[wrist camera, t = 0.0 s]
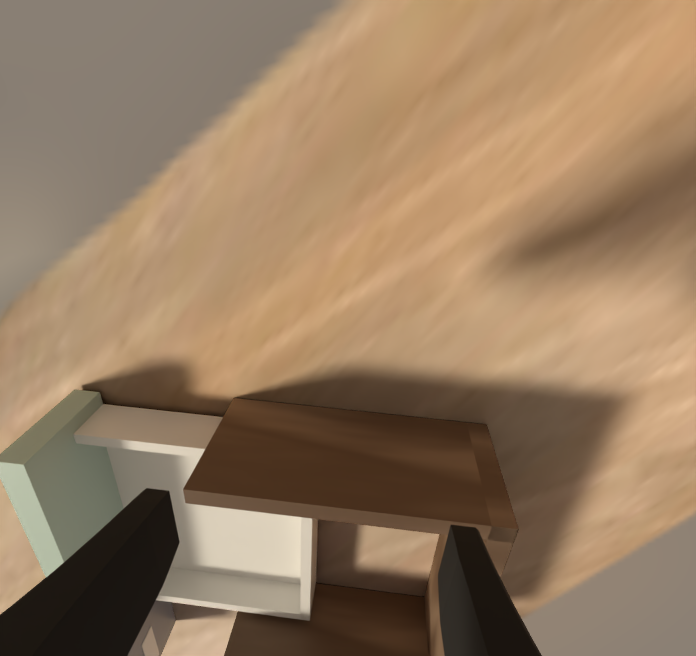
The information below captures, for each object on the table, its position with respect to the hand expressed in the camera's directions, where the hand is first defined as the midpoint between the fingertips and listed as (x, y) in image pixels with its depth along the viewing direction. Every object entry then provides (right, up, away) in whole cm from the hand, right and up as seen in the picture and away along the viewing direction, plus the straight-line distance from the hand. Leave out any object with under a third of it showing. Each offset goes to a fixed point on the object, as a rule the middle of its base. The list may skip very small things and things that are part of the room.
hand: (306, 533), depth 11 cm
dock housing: (0, -6, +14) cm, 16 cm away
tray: (-8, -5, +15) cm, 18 cm away
